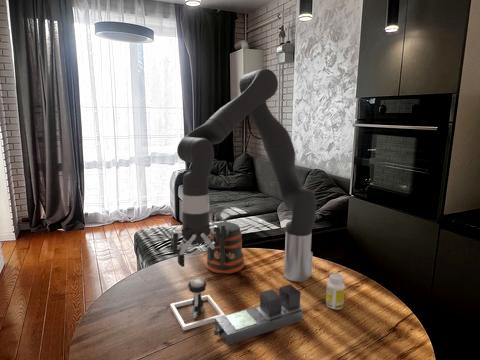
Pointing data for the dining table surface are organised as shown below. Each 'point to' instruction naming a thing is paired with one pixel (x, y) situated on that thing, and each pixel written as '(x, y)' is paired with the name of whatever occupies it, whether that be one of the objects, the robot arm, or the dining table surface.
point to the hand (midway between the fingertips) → (196, 263)
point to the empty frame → (200, 322)
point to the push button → (197, 295)
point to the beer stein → (227, 249)
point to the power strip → (262, 315)
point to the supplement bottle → (335, 292)
